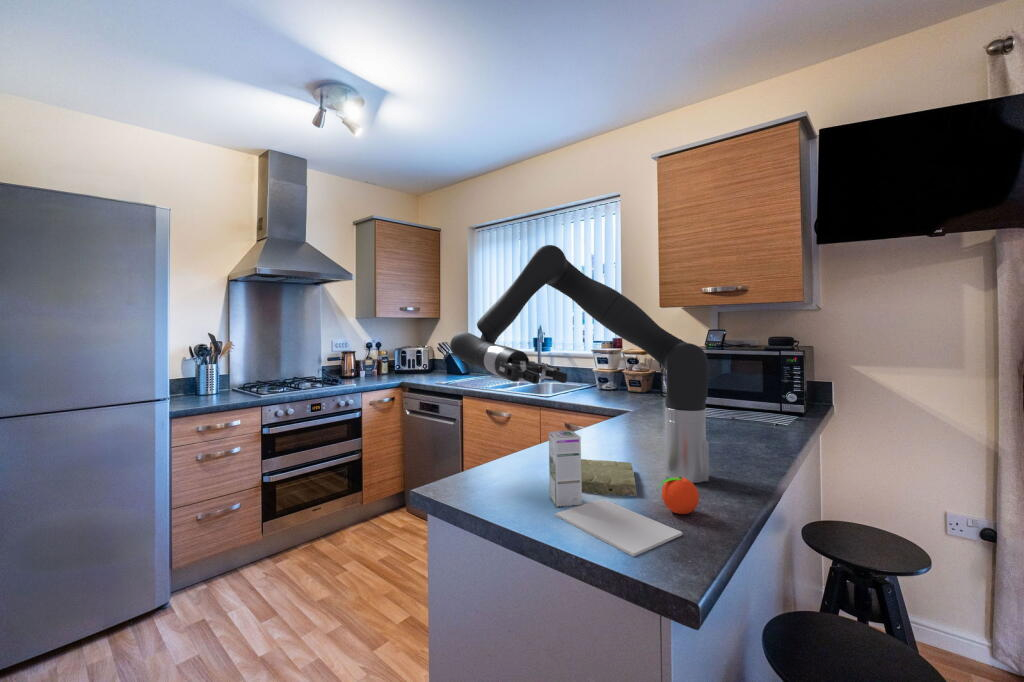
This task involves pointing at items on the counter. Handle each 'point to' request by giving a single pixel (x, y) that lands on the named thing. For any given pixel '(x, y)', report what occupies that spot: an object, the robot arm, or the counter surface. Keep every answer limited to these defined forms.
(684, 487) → the clementine
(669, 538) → the white rectangular slab
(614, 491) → the decorative tile
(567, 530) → the counter surface
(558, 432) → the syrup box
